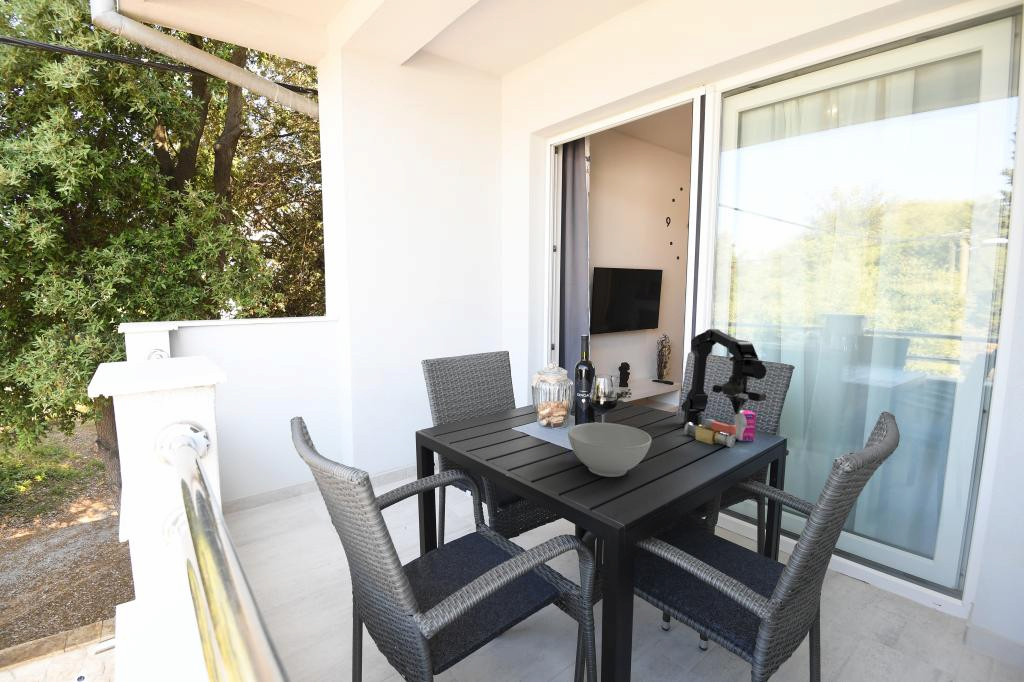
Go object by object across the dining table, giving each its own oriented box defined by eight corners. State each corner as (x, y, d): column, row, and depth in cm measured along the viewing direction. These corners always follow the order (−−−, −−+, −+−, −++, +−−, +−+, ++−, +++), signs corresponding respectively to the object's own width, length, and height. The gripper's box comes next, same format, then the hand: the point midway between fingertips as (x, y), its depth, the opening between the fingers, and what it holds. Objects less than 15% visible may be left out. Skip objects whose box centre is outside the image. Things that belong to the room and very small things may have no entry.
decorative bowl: (549, 468, 161) (551, 432, 159) (597, 450, 179) (599, 418, 178) (619, 494, 142) (621, 454, 140) (664, 471, 161) (667, 435, 159)
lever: (702, 426, 194) (703, 419, 194) (708, 425, 196) (708, 418, 196) (732, 435, 184) (733, 427, 184) (737, 433, 186) (738, 426, 186)
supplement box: (739, 441, 194) (742, 413, 193) (732, 436, 200) (735, 409, 199) (754, 441, 194) (756, 413, 193) (746, 437, 200) (749, 409, 199)
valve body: (682, 435, 200) (683, 423, 199) (692, 432, 204) (693, 420, 204) (726, 448, 185) (727, 435, 184) (736, 445, 189) (737, 432, 188)
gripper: (705, 372, 188) (702, 411, 190) (753, 380, 173) (749, 423, 175) (721, 369, 195) (718, 407, 197) (768, 377, 180) (765, 418, 182)
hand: (736, 414), depth 188 cm, fingers closed
